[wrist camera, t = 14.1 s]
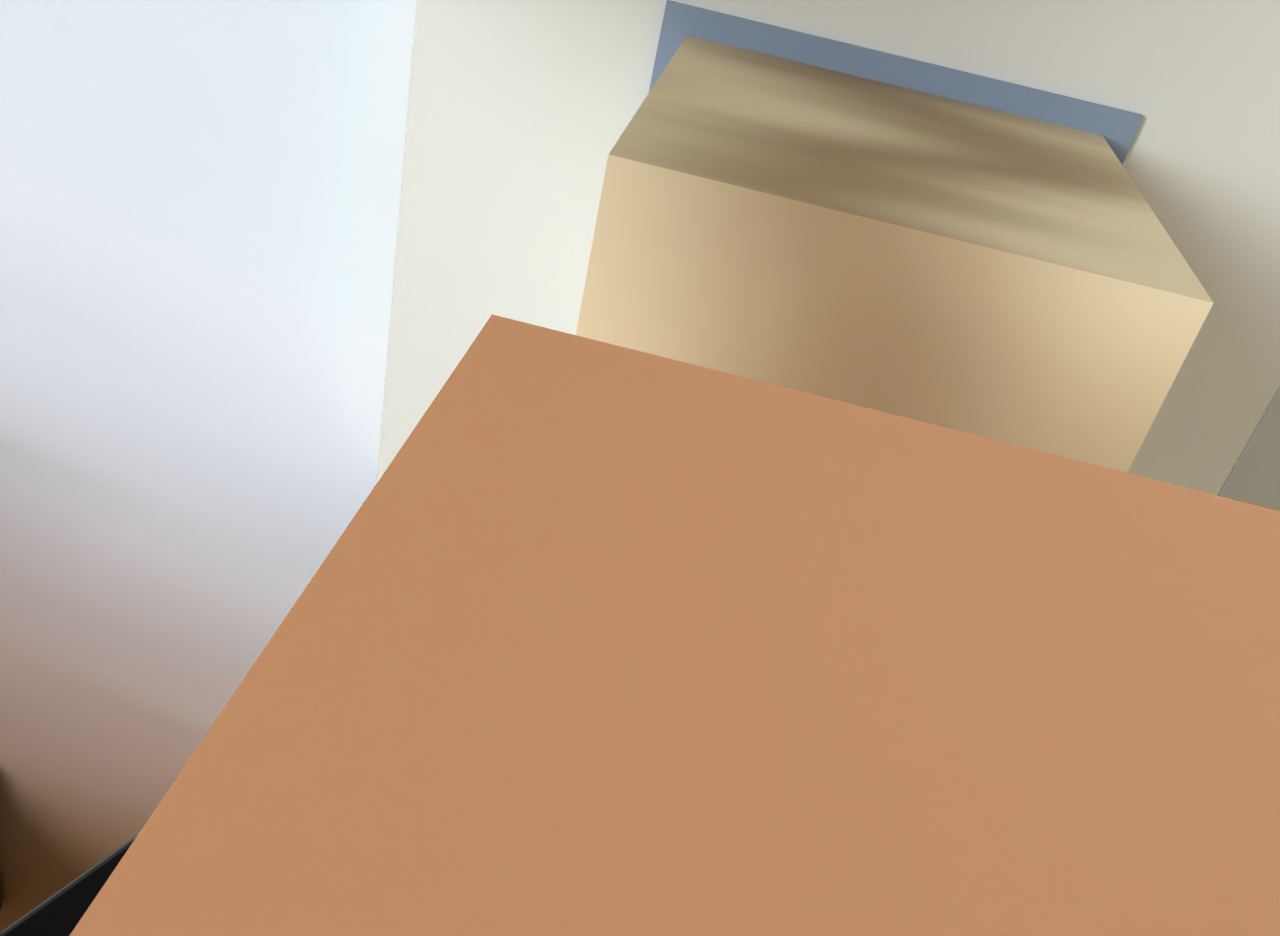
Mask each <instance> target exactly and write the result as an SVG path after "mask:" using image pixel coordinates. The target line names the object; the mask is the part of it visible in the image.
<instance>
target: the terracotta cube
mask: <svg viewBox="0 0 1280 936" xmlns="http://www.w3.org/2000/svg"><path fill="white" fill-rule="evenodd" d="M70 936H1280V511H1279V510H1275V509H1271V508H1267V507H1263V506H1259V505H1255V504H1251V503H1247V502H1243V501H1238V500H1234V499H1230V498H1226V497H1222V496H1218V495H1214V494H1210V493H1206V492H1202V491H1198V490H1194V489H1190V488H1186V487H1182V486H1178V485H1174V484H1170V483H1166V482H1162V481H1158V480H1154V479H1150V478H1146V477H1142V476H1138V475H1134V474H1130V473H1126V472H1122V471H1118V470H1114V469H1110V468H1106V467H1102V466H1098V465H1094V464H1090V463H1086V462H1082V461H1078V460H1074V459H1070V458H1066V457H1062V456H1058V455H1054V454H1050V453H1046V452H1042V451H1038V450H1034V449H1030V448H1026V447H1022V446H1018V445H1014V444H1010V443H1006V442H1002V441H998V440H994V439H990V438H986V437H982V436H978V435H974V434H970V433H966V432H962V431H958V430H954V429H950V428H946V427H942V426H938V425H934V424H930V423H926V422H922V421H918V420H914V419H910V418H906V417H902V416H898V415H894V414H890V413H886V412H882V411H878V410H874V409H870V408H866V407H862V406H858V405H854V404H850V403H846V402H842V401H838V400H834V399H830V398H826V397H821V396H817V395H813V394H809V393H805V392H801V391H797V390H793V389H789V388H785V387H781V386H777V385H773V384H769V383H765V382H761V381H757V380H753V379H749V378H745V377H741V376H737V375H733V374H729V373H725V372H721V371H717V370H713V369H709V368H705V367H701V366H697V365H693V364H689V363H685V362H681V361H677V360H673V359H669V358H665V357H661V356H657V355H653V354H649V353H645V352H641V351H637V350H633V349H629V348H625V347H621V346H617V345H613V344H609V343H605V342H601V341H597V340H593V339H589V338H585V337H581V336H577V335H573V334H569V333H565V332H561V331H557V330H553V329H549V328H545V327H541V326H537V325H533V324H529V323H525V322H521V321H517V320H513V319H509V318H505V317H501V316H497V315H493V314H492V315H491V316H490V318H489V319H488V321H487V322H486V324H485V325H484V327H483V328H482V330H481V331H480V333H479V334H478V336H477V337H476V339H475V340H474V341H473V343H472V344H471V346H470V347H469V349H468V350H467V352H466V353H465V355H464V356H463V358H462V359H461V361H460V362H459V364H458V365H457V366H456V368H455V369H454V371H453V372H452V374H451V375H450V377H449V378H448V380H447V381H446V383H445V384H444V386H443V387H442V389H441V390H440V391H439V393H438V394H437V396H436V397H435V399H434V400H433V402H432V403H431V405H430V406H429V408H428V409H427V411H426V412H425V414H424V415H423V416H422V418H421V419H420V421H419V422H418V424H417V425H416V427H415V428H414V430H413V431H412V433H411V434H410V436H409V437H408V439H407V440H406V441H405V443H404V444H403V446H402V447H401V449H400V450H399V452H398V453H397V455H396V456H395V458H394V459H393V461H392V462H391V464H390V465H389V466H388V468H387V469H386V471H385V472H384V474H383V475H382V477H381V478H380V480H379V481H378V483H377V484H376V486H375V487H374V489H373V490H372V491H371V493H370V494H369V496H368V497H367V499H366V500H365V502H364V503H363V505H362V506H361V508H360V509H359V511H358V512H357V514H356V515H355V516H354V518H353V519H352V521H351V522H350V524H349V525H348V527H347V528H346V530H345V531H344V533H343V534H342V536H341V537H340V539H339V540H338V541H337V543H336V544H335V546H334V547H333V549H332V550H331V552H330V553H329V555H328V556H327V558H326V559H325V561H324V562H323V564H322V565H321V566H320V568H319V569H318V571H317V572H316V574H315V575H314V577H313V578H312V580H311V581H310V583H309V584H308V586H307V587H306V588H305V590H304V591H303V593H302V594H301V596H300V597H299V599H298V600H297V602H296V603H295V605H294V606H293V608H292V609H291V611H290V612H289V614H288V615H287V616H286V618H285V619H284V621H283V622H282V624H281V625H280V627H279V628H278V630H277V631H276V633H275V634H274V636H273V637H272V638H271V640H270V641H269V643H268V644H267V646H266V647H265V649H264V650H263V652H262V653H261V655H260V656H259V658H258V659H257V661H256V662H255V663H254V665H253V666H252V668H251V669H250V671H249V672H248V674H247V675H246V677H245V678H244V680H243V681H242V683H241V684H240V686H239V687H238V688H237V690H236V691H235V693H234V694H233V696H232V697H231V699H230V700H229V702H228V703H227V705H226V706H225V708H224V709H223V711H222V712H221V713H220V715H219V716H218V718H217V719H216V721H215V722H214V724H213V725H212V727H211V728H210V730H209V731H208V733H207V734H206V736H205V737H204V738H203V740H202V741H201V743H200V744H199V746H198V747H197V749H196V750H195V752H194V753H193V755H192V756H191V758H190V759H189V761H188V762H187V763H186V765H185V766H184V768H183V769H182V771H181V772H180V774H179V775H178V777H177V778H176V780H175V781H174V783H173V784H172V786H171V787H170V788H169V790H168V791H167V793H166V794H165V796H164V797H163V799H162V800H161V802H160V803H159V805H158V806H157V808H156V809H155V811H154V812H153V813H152V815H151V816H150V818H149V819H148V821H147V822H146V824H145V825H144V827H143V828H142V830H141V831H140V833H139V834H138V836H137V837H136V838H135V840H134V841H133V843H132V844H131V846H130V847H129V849H128V850H127V852H126V853H125V855H124V856H123V858H122V859H121V861H120V862H119V863H118V865H117V866H116V868H115V869H114V871H113V872H112V874H111V875H110V877H109V878H108V880H107V881H106V883H105V884H104V886H103V887H102V888H101V890H100V891H99V893H98V894H97V896H96V897H95V899H94V900H93V902H92V903H91V905H90V906H89V908H88V909H87V911H86V912H85V913H84V915H83V916H82V918H81V919H80V921H79V922H78V924H77V925H76V927H75V928H74V930H73V931H72V933H71V934H70Z"/></svg>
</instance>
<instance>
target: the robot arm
mask: <svg viewBox="0 0 1280 936" xmlns="http://www.w3.org/2000/svg"><path fill="white" fill-rule="evenodd" d="M137 836H138V835H136V836H135V837H133V838H132V839H131V840H129V841H128V842H126V843H125V844H124V845H122V846H121V847H119V848H118V849H117V850H115V851H114V852H112V853H111V854H110V855H108V856H107V857H105V858H104V859H103V860H101V861H100V862H98V863H97V864H95V865H94V866H93V867H91V868H90V869H88V870H87V871H86V872H84V873H83V874H81V875H80V876H79V877H77V878H76V879H74V880H73V881H72V882H70V883H69V884H67V885H66V886H65V887H63V888H62V889H60V890H59V891H57V892H56V893H55V894H53V895H52V896H50V897H49V898H48V899H46V900H45V901H43V902H42V903H41V904H39V905H38V906H36V907H35V908H34V909H32V910H31V911H29V912H28V913H27V914H25V915H24V916H22V917H21V918H20V919H18V920H17V921H15V922H14V923H12V924H11V925H10V926H8V927H7V928H5V929H4V930H3V931H1V932H0V936H70V934H71V933H72V931H73V930H74V928H75V927H76V925H77V924H78V922H79V921H80V919H81V918H82V916H83V915H84V913H85V912H86V911H87V909H88V908H89V906H90V905H91V903H92V902H93V900H94V899H95V897H96V896H97V894H98V893H99V891H100V890H101V888H102V887H103V886H104V884H105V883H106V881H107V880H108V878H109V877H110V875H111V874H112V872H113V871H114V869H115V868H116V866H117V865H118V863H119V862H120V861H121V859H122V858H123V856H124V855H125V853H126V852H127V850H128V849H129V847H130V846H131V844H132V843H133V841H134V840H135V838H136V837H137ZM1 909H2V902H1V896H0V911H1Z"/></svg>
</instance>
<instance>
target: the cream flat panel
mask: <svg viewBox="0 0 1280 936" xmlns="http://www.w3.org/2000/svg"><path fill="white" fill-rule="evenodd" d="M687 35H688V36H692V37H696V38H700V39H705V40H709V41H713V42H717V43H721V44H725V45H729V46H734V47H738V48H742V49H746V50H750V51H754V52H759V53H763V54H767V55H771V56H775V57H779V58H783V59H788V60H792V61H796V62H800V63H804V64H808V65H813V66H817V67H821V68H825V69H829V70H833V71H837V72H842V73H846V74H850V75H854V76H858V77H862V78H867V79H871V80H875V81H879V82H883V83H887V84H891V85H896V86H900V87H904V88H908V89H912V90H916V91H921V92H925V93H929V94H933V95H937V96H941V97H945V98H950V99H954V100H958V101H962V102H966V103H970V104H975V105H979V106H983V107H987V108H991V109H995V110H999V111H1004V112H1008V113H1012V114H1016V115H1020V116H1024V117H1029V118H1033V119H1037V120H1041V121H1045V122H1049V123H1053V124H1058V125H1062V126H1066V127H1070V128H1074V129H1078V130H1083V131H1087V132H1091V133H1095V134H1099V135H1103V137H1104V138H1105V140H1106V141H1107V143H1108V144H1109V146H1110V147H1111V149H1112V150H1113V152H1114V153H1115V155H1116V156H1117V158H1118V159H1119V161H1120V162H1121V164H1122V165H1123V167H1124V168H1125V170H1126V171H1127V173H1128V174H1129V176H1130V177H1131V179H1132V181H1133V182H1134V184H1135V185H1136V187H1137V188H1138V190H1139V191H1140V193H1141V194H1142V196H1143V197H1144V199H1145V200H1146V202H1147V203H1148V205H1149V206H1150V208H1151V209H1152V211H1153V212H1154V214H1155V215H1156V217H1157V218H1158V220H1159V221H1160V223H1161V224H1162V226H1163V227H1164V229H1165V230H1166V232H1167V233H1168V235H1169V236H1170V238H1171V239H1172V241H1173V242H1174V244H1175V245H1176V247H1177V248H1178V250H1179V251H1180V253H1181V254H1182V256H1183V257H1184V259H1185V260H1186V262H1187V263H1188V265H1189V266H1190V268H1191V269H1192V271H1193V273H1194V274H1195V276H1196V277H1197V279H1198V280H1199V282H1200V283H1201V285H1202V286H1203V288H1204V289H1205V291H1206V292H1207V294H1208V295H1209V297H1210V298H1211V300H1212V301H1213V305H1212V307H1211V309H1210V311H1209V313H1208V315H1207V317H1206V319H1205V321H1204V323H1203V325H1202V327H1201V329H1200V331H1199V333H1198V335H1197V337H1196V339H1195V341H1194V342H1193V344H1192V346H1191V348H1190V350H1189V352H1188V354H1187V356H1186V358H1185V360H1184V362H1183V364H1182V366H1181V368H1180V370H1179V372H1178V374H1177V376H1176V378H1175V380H1174V382H1173V384H1172V386H1171V388H1170V390H1169V392H1168V394H1167V396H1166V397H1165V399H1164V401H1163V403H1162V405H1161V407H1160V409H1159V411H1158V413H1157V415H1156V417H1155V419H1154V421H1153V423H1152V425H1151V427H1150V429H1149V431H1148V433H1147V435H1146V437H1145V439H1144V441H1143V443H1142V445H1141V447H1140V449H1139V451H1138V452H1137V454H1136V456H1135V458H1134V460H1133V462H1132V464H1131V466H1130V468H1129V470H1128V472H1127V473H1130V474H1134V475H1138V476H1142V477H1146V478H1150V479H1154V480H1158V481H1162V482H1166V483H1170V484H1174V485H1178V486H1182V487H1186V488H1190V489H1194V490H1198V491H1202V492H1206V493H1210V494H1214V495H1218V493H1219V491H1220V490H1221V488H1222V486H1223V484H1224V483H1225V481H1226V479H1227V477H1228V476H1229V474H1230V472H1231V470H1232V469H1233V467H1234V465H1235V463H1236V462H1237V460H1238V458H1239V456H1240V455H1241V453H1242V451H1243V449H1244V448H1245V446H1246V444H1247V442H1248V441H1249V439H1250V437H1251V435H1252V434H1253V432H1254V430H1255V428H1256V427H1257V425H1258V423H1259V421H1260V420H1261V418H1262V416H1263V414H1264V413H1265V411H1266V409H1267V407H1268V406H1269V404H1270V402H1271V400H1272V399H1273V397H1274V395H1275V393H1276V391H1277V390H1278V388H1279V386H1280V0H417V7H416V19H415V31H414V43H413V54H412V66H411V78H410V90H409V102H408V114H407V126H406V138H405V150H404V162H403V174H402V186H401V198H400V210H399V221H398V233H397V245H396V257H395V269H394V281H393V293H392V305H391V317H390V329H389V341H388V353H387V365H386V377H385V388H384V400H383V412H382V424H381V436H380V448H379V460H378V472H377V481H379V480H380V478H381V477H382V475H383V474H384V472H385V471H386V469H387V468H388V466H389V465H390V464H391V462H392V461H393V459H394V458H395V456H396V455H397V453H398V452H399V450H400V449H401V447H402V446H403V444H404V443H405V441H406V440H407V439H408V437H409V436H410V434H411V433H412V431H413V430H414V428H415V427H416V425H417V424H418V422H419V421H420V419H421V418H422V416H423V415H424V414H425V412H426V411H427V409H428V408H429V406H430V405H431V403H432V402H433V400H434V399H435V397H436V396H437V394H438V393H439V391H440V390H441V389H442V387H443V386H444V384H445V383H446V381H447V380H448V378H449V377H450V375H451V374H452V372H453V371H454V369H455V368H456V366H457V365H458V364H459V362H460V361H461V359H462V358H463V356H464V355H465V353H466V352H467V350H468V349H469V347H470V346H471V344H472V343H473V341H474V340H475V339H476V337H477V336H478V334H479V333H480V331H481V330H482V328H483V327H484V325H485V324H486V322H487V321H488V319H489V318H490V316H491V315H492V314H493V315H497V316H501V317H505V318H509V319H513V320H517V321H521V322H525V323H529V324H533V325H537V326H541V327H545V328H549V329H553V330H557V331H561V332H565V333H569V334H573V335H576V331H577V325H578V320H579V314H580V309H581V303H582V297H583V292H584V286H585V281H586V275H587V270H588V264H589V259H590V253H591V248H592V242H593V237H594V231H595V225H596V220H597V214H598V209H599V203H600V198H601V192H602V187H603V181H604V176H605V170H606V165H607V159H608V154H609V153H610V151H611V150H612V148H613V147H614V145H615V144H616V142H617V141H618V139H619V137H620V136H621V134H622V133H623V131H624V130H625V128H626V127H627V125H628V124H629V122H630V121H631V119H632V118H633V116H634V115H635V113H636V112H637V110H638V109H639V107H640V106H641V104H642V103H643V101H644V100H645V98H646V97H647V95H648V93H649V92H650V90H651V89H652V87H653V86H654V84H655V83H656V81H657V80H658V78H659V77H660V75H661V74H662V72H663V71H664V69H665V68H666V66H667V65H668V63H669V62H670V60H671V59H672V57H673V56H674V54H675V53H676V51H677V49H678V48H679V46H680V45H681V43H682V42H683V40H684V39H685V37H686V36H687Z"/></svg>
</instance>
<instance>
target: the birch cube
mask: <svg viewBox="0 0 1280 936" xmlns="http://www.w3.org/2000/svg"><path fill="white" fill-rule="evenodd" d="M1212 305H1213V301H1212V300H1211V298H1210V297H1209V295H1208V294H1207V292H1206V291H1205V289H1204V288H1203V286H1202V285H1201V283H1200V282H1199V280H1198V279H1197V277H1196V276H1195V274H1194V273H1193V271H1192V269H1191V268H1190V266H1189V265H1188V263H1187V262H1186V260H1185V259H1184V257H1183V256H1182V254H1181V253H1180V251H1179V250H1178V248H1177V247H1176V245H1175V244H1174V242H1173V241H1172V239H1171V238H1170V236H1169V235H1168V233H1167V232H1166V230H1165V229H1164V227H1163V226H1162V224H1161V223H1160V221H1159V220H1158V218H1157V217H1156V215H1155V214H1154V212H1153V211H1152V209H1151V208H1150V206H1149V205H1148V203H1147V202H1146V200H1145V199H1144V197H1143V196H1142V194H1141V193H1140V191H1139V190H1138V188H1137V187H1136V185H1135V184H1134V182H1133V181H1132V179H1131V177H1130V176H1129V174H1128V173H1127V171H1126V170H1125V168H1124V167H1123V165H1122V164H1121V162H1120V161H1119V159H1118V158H1117V156H1116V155H1115V153H1114V152H1113V150H1112V149H1111V147H1110V146H1109V144H1108V143H1107V141H1106V140H1105V138H1104V137H1103V135H1099V134H1095V133H1091V132H1087V131H1083V130H1078V129H1074V128H1070V127H1066V126H1062V125H1058V124H1053V123H1049V122H1045V121H1041V120H1037V119H1033V118H1029V117H1024V116H1020V115H1016V114H1012V113H1008V112H1004V111H999V110H995V109H991V108H987V107H983V106H979V105H975V104H970V103H966V102H962V101H958V100H954V99H950V98H945V97H941V96H937V95H933V94H929V93H925V92H921V91H916V90H912V89H908V88H904V87H900V86H896V85H891V84H887V83H883V82H879V81H875V80H871V79H867V78H862V77H858V76H854V75H850V74H846V73H842V72H837V71H833V70H829V69H825V68H821V67H817V66H813V65H808V64H804V63H800V62H796V61H792V60H788V59H783V58H779V57H775V56H771V55H767V54H763V53H759V52H754V51H750V50H746V49H742V48H738V47H734V46H729V45H725V44H721V43H717V42H713V41H709V40H705V39H700V38H696V37H692V36H688V35H687V36H686V37H685V39H684V40H683V42H682V43H681V45H680V46H679V48H678V49H677V51H676V53H675V54H674V56H673V57H672V59H671V60H670V62H669V63H668V65H667V66H666V68H665V69H664V71H663V72H662V74H661V75H660V77H659V78H658V80H657V81H656V83H655V84H654V86H653V87H652V89H651V90H650V92H649V93H648V95H647V97H646V98H645V100H644V101H643V103H642V104H641V106H640V107H639V109H638V110H637V112H636V113H635V115H634V116H633V118H632V119H631V121H630V122H629V124H628V125H627V127H626V128H625V130H624V131H623V133H622V134H621V136H620V137H619V139H618V141H617V142H616V144H615V145H614V147H613V148H612V150H611V151H610V153H609V154H608V159H607V165H606V170H605V176H604V181H603V187H602V192H601V198H600V203H599V209H598V214H597V220H596V225H595V231H594V237H593V242H592V248H591V253H590V259H589V264H588V270H587V275H586V281H585V286H584V292H583V297H582V303H581V309H580V314H579V320H578V325H577V331H576V335H577V336H581V337H585V338H589V339H593V340H597V341H601V342H605V343H609V344H613V345H617V346H621V347H625V348H629V349H633V350H637V351H641V352H645V353H649V354H653V355H657V356H661V357H665V358H669V359H673V360H677V361H681V362H685V363H689V364H693V365H697V366H701V367H705V368H709V369H713V370H717V371H721V372H725V373H729V374H733V375H737V376H741V377H745V378H749V379H753V380H757V381H761V382H765V383H769V384H773V385H777V386H781V387H785V388H789V389H793V390H797V391H801V392H805V393H809V394H813V395H817V396H821V397H826V398H830V399H834V400H838V401H842V402H846V403H850V404H854V405H858V406H862V407H866V408H870V409H874V410H878V411H882V412H886V413H890V414H894V415H898V416H902V417H906V418H910V419H914V420H918V421H922V422H926V423H930V424H934V425H938V426H942V427H946V428H950V429H954V430H958V431H962V432H966V433H970V434H974V435H978V436H982V437H986V438H990V439H994V440H998V441H1002V442H1006V443H1010V444H1014V445H1018V446H1022V447H1026V448H1030V449H1034V450H1038V451H1042V452H1046V453H1050V454H1054V455H1058V456H1062V457H1066V458H1070V459H1074V460H1078V461H1082V462H1086V463H1090V464H1094V465H1098V466H1102V467H1106V468H1110V469H1114V470H1118V471H1122V472H1126V473H1127V472H1128V470H1129V468H1130V466H1131V464H1132V462H1133V460H1134V458H1135V456H1136V454H1137V452H1138V451H1139V449H1140V447H1141V445H1142V443H1143V441H1144V439H1145V437H1146V435H1147V433H1148V431H1149V429H1150V427H1151V425H1152V423H1153V421H1154V419H1155V417H1156V415H1157V413H1158V411H1159V409H1160V407H1161V405H1162V403H1163V401H1164V399H1165V397H1166V396H1167V394H1168V392H1169V390H1170V388H1171V386H1172V384H1173V382H1174V380H1175V378H1176V376H1177V374H1178V372H1179V370H1180V368H1181V366H1182V364H1183V362H1184V360H1185V358H1186V356H1187V354H1188V352H1189V350H1190V348H1191V346H1192V344H1193V342H1194V341H1195V339H1196V337H1197V335H1198V333H1199V331H1200V329H1201V327H1202V325H1203V323H1204V321H1205V319H1206V317H1207V315H1208V313H1209V311H1210V309H1211V307H1212Z"/></svg>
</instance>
